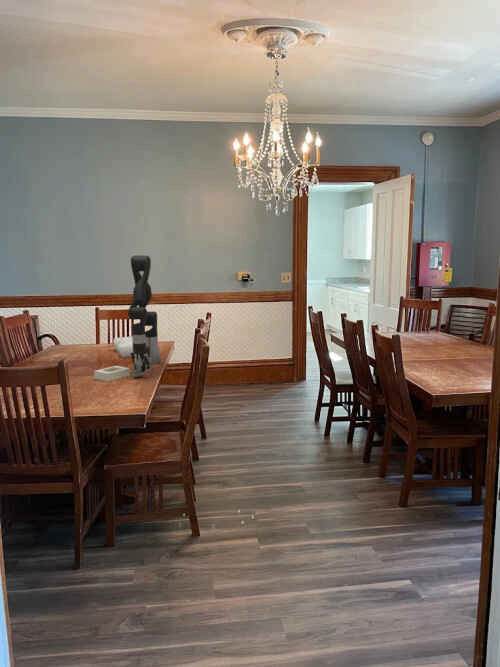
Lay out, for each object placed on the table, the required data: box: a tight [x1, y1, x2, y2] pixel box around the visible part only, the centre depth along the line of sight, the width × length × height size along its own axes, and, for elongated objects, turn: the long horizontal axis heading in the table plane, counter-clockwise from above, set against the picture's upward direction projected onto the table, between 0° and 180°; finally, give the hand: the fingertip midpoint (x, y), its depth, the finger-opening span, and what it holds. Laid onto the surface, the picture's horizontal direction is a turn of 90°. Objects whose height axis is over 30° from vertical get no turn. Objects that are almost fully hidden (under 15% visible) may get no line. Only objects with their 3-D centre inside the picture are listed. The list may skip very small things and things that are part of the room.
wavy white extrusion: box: [112, 336, 133, 358], centre depth 361 cm, size 35×16×11 cm, turn 20°
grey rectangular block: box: [130, 359, 146, 377], centre depth 292 cm, size 6×4×9 cm, turn 142°
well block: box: [93, 365, 131, 382], centre depth 294 cm, size 16×12×4 cm
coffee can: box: [132, 346, 152, 372], centre depth 311 cm, size 10×10×14 cm
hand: (140, 371), depth 294 cm, fingers closed on grey rectangular block, 4 cm apart
